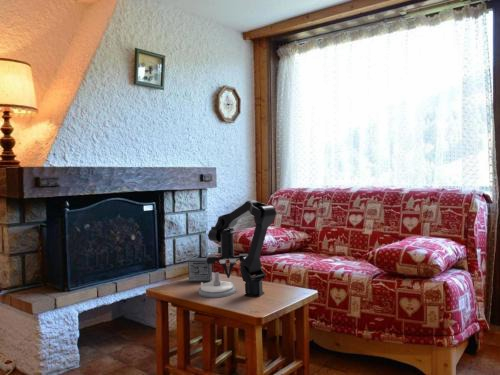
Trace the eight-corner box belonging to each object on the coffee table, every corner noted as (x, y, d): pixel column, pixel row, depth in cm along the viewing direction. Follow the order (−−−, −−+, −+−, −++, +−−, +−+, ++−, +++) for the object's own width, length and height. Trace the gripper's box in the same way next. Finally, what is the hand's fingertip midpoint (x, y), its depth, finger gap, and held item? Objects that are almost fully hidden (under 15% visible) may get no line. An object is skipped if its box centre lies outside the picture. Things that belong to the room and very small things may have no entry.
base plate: (241, 288, 188) (241, 281, 188) (224, 299, 174) (223, 290, 173) (210, 285, 195) (210, 278, 195) (191, 295, 181) (191, 287, 180)
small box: (212, 278, 208) (211, 257, 208) (210, 282, 202) (209, 260, 201) (191, 278, 209) (190, 257, 209) (188, 282, 203) (187, 260, 202)
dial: (233, 291, 178) (233, 279, 178) (200, 293, 177) (199, 281, 177) (232, 283, 192) (232, 271, 191) (201, 284, 191) (201, 273, 190)
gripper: (246, 239, 199) (248, 272, 199) (206, 241, 197) (208, 274, 198) (248, 243, 187) (249, 278, 188) (206, 245, 186) (207, 280, 187)
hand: (228, 277), depth 190 cm, fingers closed
